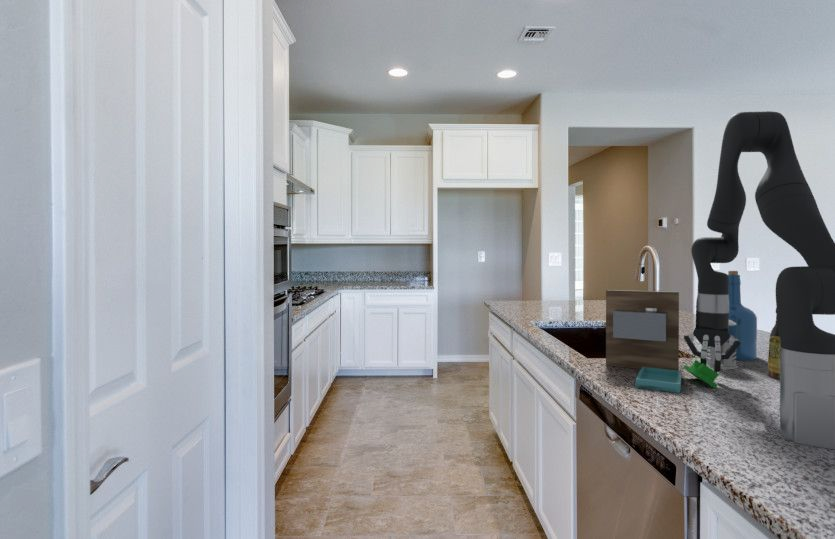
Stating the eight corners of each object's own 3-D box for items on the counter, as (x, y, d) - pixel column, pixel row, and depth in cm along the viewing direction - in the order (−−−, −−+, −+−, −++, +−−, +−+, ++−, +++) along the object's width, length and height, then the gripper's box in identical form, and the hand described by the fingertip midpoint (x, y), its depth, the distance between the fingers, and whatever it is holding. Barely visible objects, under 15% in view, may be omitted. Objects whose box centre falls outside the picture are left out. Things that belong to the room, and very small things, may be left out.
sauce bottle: (763, 376, 125) (763, 307, 125) (775, 374, 128) (775, 306, 127) (790, 382, 119) (790, 309, 119) (802, 379, 122) (802, 308, 122)
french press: (738, 365, 139) (738, 286, 139) (742, 372, 129) (743, 288, 129) (701, 361, 144) (701, 286, 144) (703, 369, 134) (703, 287, 134)
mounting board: (678, 373, 129) (678, 292, 129) (605, 365, 140) (606, 290, 140) (678, 371, 131) (678, 291, 131) (607, 363, 142) (607, 290, 141)
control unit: (665, 341, 126) (665, 309, 126) (613, 337, 133) (613, 307, 133) (666, 338, 131) (667, 307, 131) (616, 334, 138) (616, 305, 138)
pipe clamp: (725, 377, 112) (708, 366, 113) (715, 388, 113) (699, 377, 114) (705, 367, 123) (691, 357, 124) (697, 377, 124) (682, 367, 125)
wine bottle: (762, 364, 140) (763, 271, 140) (713, 360, 146) (713, 271, 145) (751, 356, 153) (751, 270, 152) (706, 353, 158) (706, 270, 158)
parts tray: (680, 393, 109) (680, 384, 109) (635, 387, 115) (635, 378, 115) (681, 378, 123) (681, 371, 123) (642, 374, 128) (642, 366, 128)
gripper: (682, 309, 120) (680, 371, 121) (744, 313, 113) (742, 379, 114) (683, 306, 127) (681, 365, 128) (742, 310, 119) (739, 373, 120)
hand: (710, 372), depth 121 cm, fingers closed on pipe clamp, 2 cm apart
